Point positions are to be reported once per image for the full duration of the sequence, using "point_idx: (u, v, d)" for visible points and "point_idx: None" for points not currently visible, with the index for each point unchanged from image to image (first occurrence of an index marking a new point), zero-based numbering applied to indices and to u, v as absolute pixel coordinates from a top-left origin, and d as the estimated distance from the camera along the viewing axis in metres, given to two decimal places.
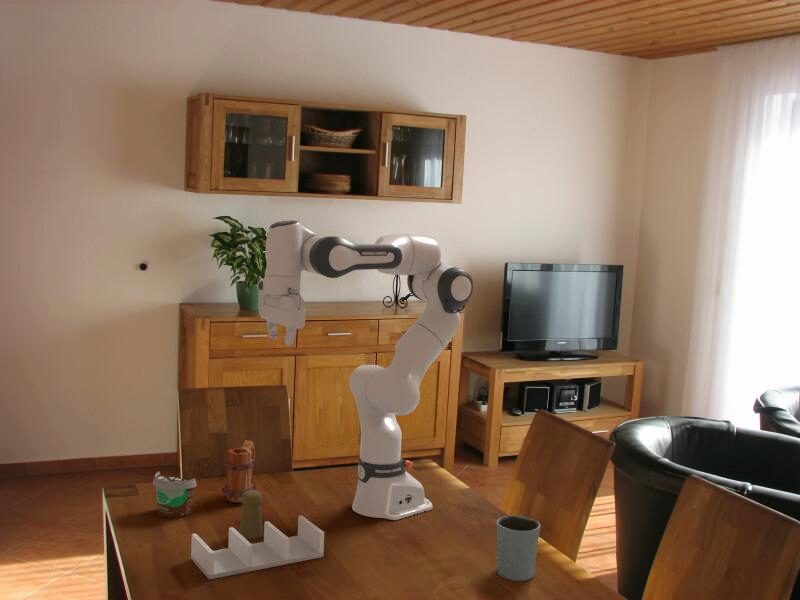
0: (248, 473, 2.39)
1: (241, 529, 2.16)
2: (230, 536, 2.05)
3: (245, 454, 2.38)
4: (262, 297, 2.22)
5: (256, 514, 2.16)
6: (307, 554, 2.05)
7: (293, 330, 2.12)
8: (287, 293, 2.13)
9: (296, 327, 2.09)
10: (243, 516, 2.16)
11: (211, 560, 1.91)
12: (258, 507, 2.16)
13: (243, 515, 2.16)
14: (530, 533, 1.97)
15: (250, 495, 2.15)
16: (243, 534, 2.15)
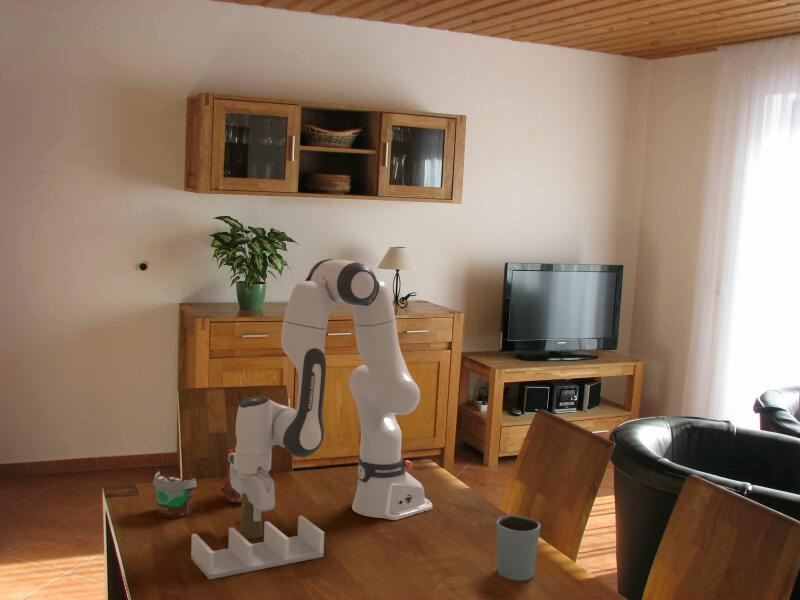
0: None
1: (241, 529, 2.16)
2: (230, 536, 2.05)
3: None
4: (233, 469, 2.21)
5: None
6: (307, 554, 2.05)
7: None
8: (257, 472, 2.12)
9: (266, 509, 2.08)
10: (243, 516, 2.16)
11: (211, 560, 1.91)
12: None
13: (243, 515, 2.16)
14: (530, 533, 1.97)
15: None
16: (243, 534, 2.15)
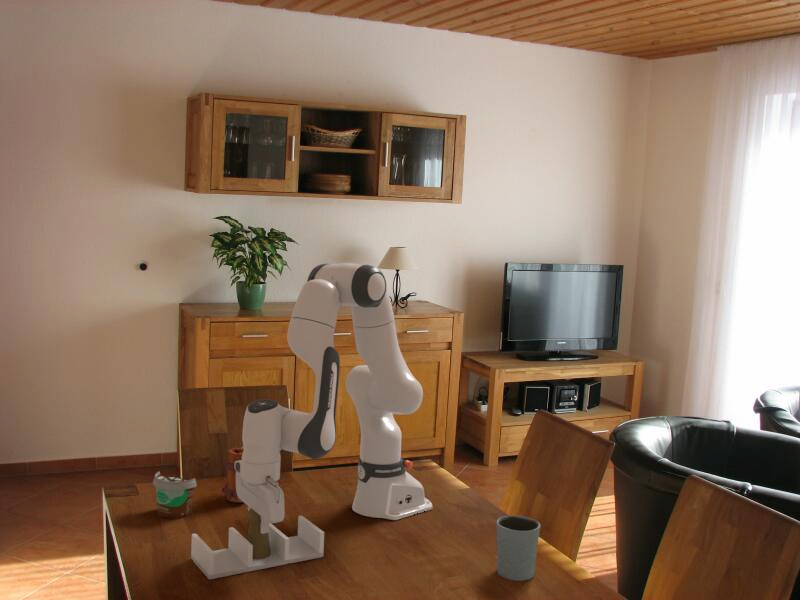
0: None
1: None
2: (230, 536, 2.05)
3: None
4: (239, 477, 2.07)
5: None
6: (307, 554, 2.05)
7: None
8: (265, 481, 1.98)
9: (275, 521, 1.94)
10: (250, 534, 2.02)
11: (211, 560, 1.91)
12: None
13: (249, 533, 2.02)
14: (530, 533, 1.97)
15: None
16: None
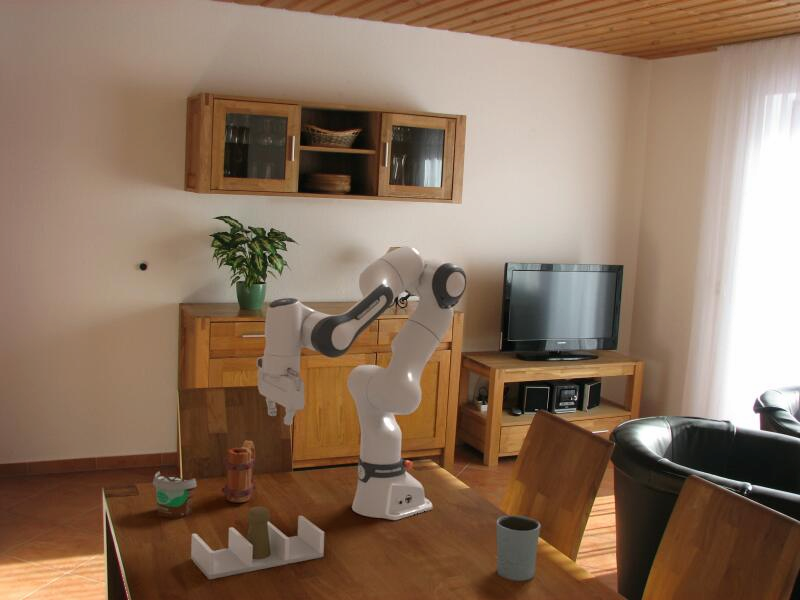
0: (248, 473, 2.39)
1: None
2: (230, 536, 2.05)
3: (245, 454, 2.38)
4: (261, 373, 2.20)
5: (263, 532, 2.02)
6: (307, 554, 2.05)
7: (292, 410, 2.10)
8: (286, 373, 2.11)
9: (295, 408, 2.07)
10: (250, 534, 2.02)
11: (211, 560, 1.91)
12: (265, 525, 2.02)
13: (249, 533, 2.02)
14: (530, 533, 1.97)
15: (257, 512, 2.01)
16: None
